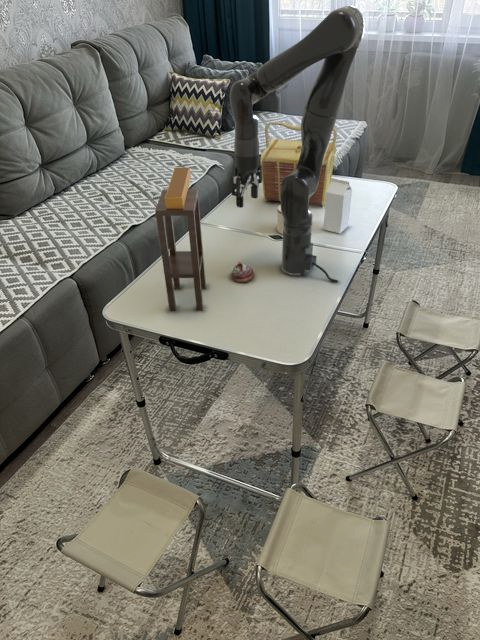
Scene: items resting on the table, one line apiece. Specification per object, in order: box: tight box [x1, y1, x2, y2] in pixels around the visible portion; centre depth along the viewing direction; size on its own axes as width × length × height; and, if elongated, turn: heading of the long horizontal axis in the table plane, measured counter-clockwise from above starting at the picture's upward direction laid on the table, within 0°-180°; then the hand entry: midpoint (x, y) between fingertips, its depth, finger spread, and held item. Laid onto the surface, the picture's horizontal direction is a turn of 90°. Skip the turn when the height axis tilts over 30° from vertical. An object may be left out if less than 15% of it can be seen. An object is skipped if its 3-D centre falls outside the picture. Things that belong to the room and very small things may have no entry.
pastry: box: [230, 261, 255, 283], centre depth 167 cm, size 8×8×5 cm
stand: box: [154, 189, 207, 312], centre depth 149 cm, size 14×10×32 cm
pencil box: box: [165, 167, 192, 209], centre depth 141 cm, size 22×4×3 cm, turn 1°
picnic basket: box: [259, 121, 338, 207], centre depth 210 cm, size 29×26×30 cm
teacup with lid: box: [276, 204, 283, 235], centre depth 192 cm, size 12×9×12 cm
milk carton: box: [322, 177, 353, 234], centre depth 190 cm, size 7×7×19 cm
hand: (247, 202), depth 165 cm, fingers open, 8 cm apart
